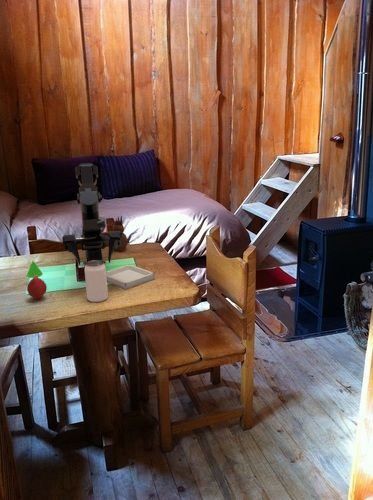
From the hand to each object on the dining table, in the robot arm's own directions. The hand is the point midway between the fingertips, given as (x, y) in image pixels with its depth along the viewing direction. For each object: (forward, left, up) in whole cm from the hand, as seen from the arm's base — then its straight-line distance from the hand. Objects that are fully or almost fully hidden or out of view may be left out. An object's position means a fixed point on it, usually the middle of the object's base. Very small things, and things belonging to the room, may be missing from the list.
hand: (94, 263), depth 146 cm
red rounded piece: (-11, -15, -11) cm, 21 cm away
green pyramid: (-32, -5, -11) cm, 34 cm away
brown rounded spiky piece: (-32, +34, -11) cm, 48 cm away
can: (+3, -2, -11) cm, 11 cm away
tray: (-3, +15, -11) cm, 19 cm away
